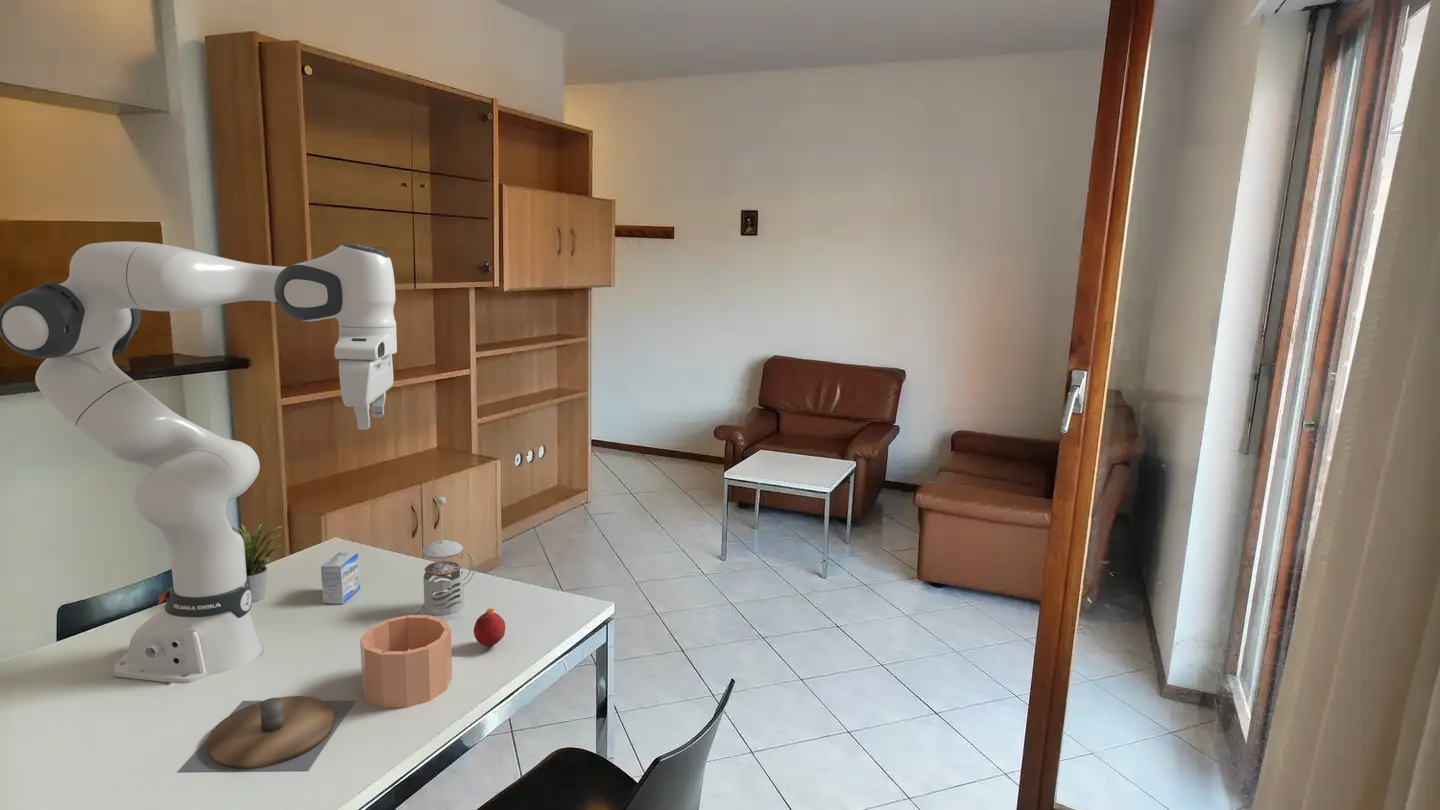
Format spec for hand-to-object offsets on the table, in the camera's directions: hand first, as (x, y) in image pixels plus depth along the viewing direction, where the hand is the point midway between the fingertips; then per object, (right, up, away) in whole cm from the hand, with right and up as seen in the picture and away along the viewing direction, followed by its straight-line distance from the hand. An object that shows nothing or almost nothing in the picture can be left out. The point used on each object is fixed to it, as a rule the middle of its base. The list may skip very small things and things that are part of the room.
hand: (371, 422), depth 135 cm
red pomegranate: (+16, -44, +16) cm, 49 cm away
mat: (-9, -48, -13) cm, 51 cm away
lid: (-9, -48, -13) cm, 51 cm away
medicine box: (-22, -39, +35) cm, 56 cm away
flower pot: (+6, -46, +2) cm, 46 cm away
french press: (+3, -41, +31) cm, 51 cm away
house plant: (-39, -38, +32) cm, 63 cm away
